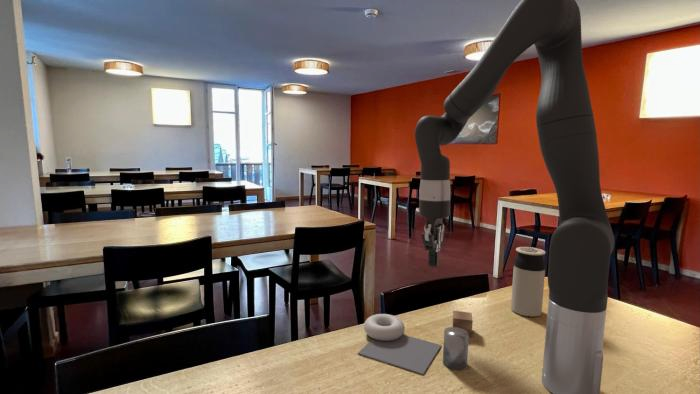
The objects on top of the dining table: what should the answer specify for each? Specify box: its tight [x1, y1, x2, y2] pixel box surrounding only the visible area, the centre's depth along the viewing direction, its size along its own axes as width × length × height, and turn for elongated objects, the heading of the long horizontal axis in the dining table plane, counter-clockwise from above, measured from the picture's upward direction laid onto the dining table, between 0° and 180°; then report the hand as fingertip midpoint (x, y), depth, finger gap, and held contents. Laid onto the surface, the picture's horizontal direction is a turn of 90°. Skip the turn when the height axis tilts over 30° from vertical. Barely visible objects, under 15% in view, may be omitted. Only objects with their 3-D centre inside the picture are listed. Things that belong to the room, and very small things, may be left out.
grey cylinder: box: [442, 326, 470, 372], centre depth 78 cm, size 5×5×7 cm
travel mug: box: [510, 246, 546, 318], centre depth 104 cm, size 8×8×18 cm
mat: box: [357, 334, 442, 376], centre depth 84 cm, size 15×13×1 cm
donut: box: [363, 313, 406, 341], centre depth 90 cm, size 10×4×10 cm
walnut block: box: [451, 310, 474, 339], centre depth 92 cm, size 4×4×4 cm
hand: (433, 265), depth 93 cm, fingers closed
